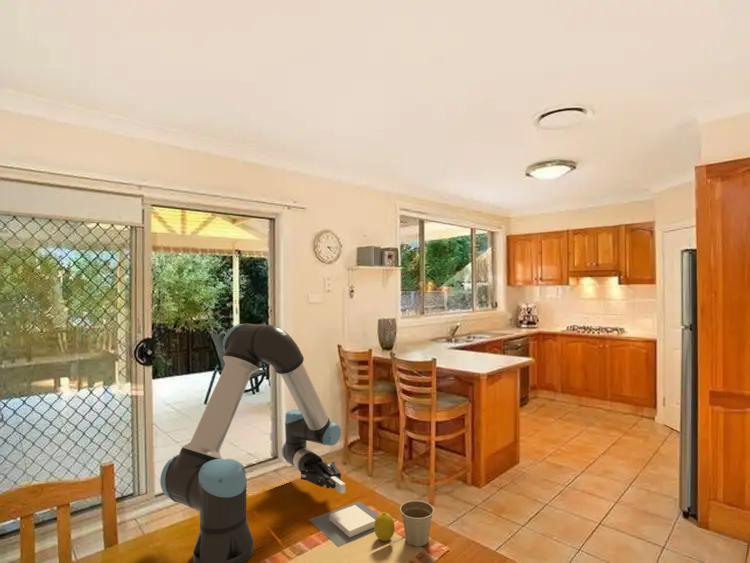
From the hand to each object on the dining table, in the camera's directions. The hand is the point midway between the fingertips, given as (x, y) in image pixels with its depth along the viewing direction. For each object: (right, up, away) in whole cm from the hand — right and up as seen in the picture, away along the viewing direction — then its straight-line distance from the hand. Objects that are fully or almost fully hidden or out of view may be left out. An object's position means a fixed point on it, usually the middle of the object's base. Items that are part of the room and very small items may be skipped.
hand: (343, 488), depth 131 cm
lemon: (+12, -9, -12) cm, 19 cm away
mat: (+2, -9, -3) cm, 10 cm away
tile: (0, -7, 0) cm, 8 cm away
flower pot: (+21, -9, -11) cm, 26 cm away
